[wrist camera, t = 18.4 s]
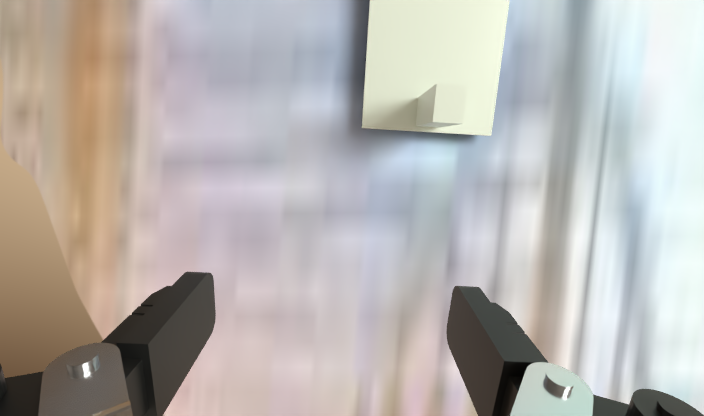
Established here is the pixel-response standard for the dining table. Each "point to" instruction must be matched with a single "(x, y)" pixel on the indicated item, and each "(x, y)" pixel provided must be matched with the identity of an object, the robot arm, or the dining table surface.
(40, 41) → the dining table surface
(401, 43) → the lid
